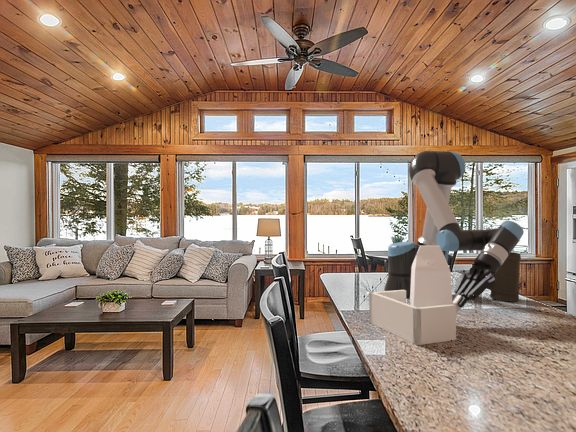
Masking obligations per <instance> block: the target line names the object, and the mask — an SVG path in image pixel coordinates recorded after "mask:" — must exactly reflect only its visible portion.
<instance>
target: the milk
mask: <svg viewBox="0 0 576 432" xmlns="http://www.w3.org/2000/svg"><path fill="white" fill-rule="evenodd" d="M452 289H453V288H452V273H451V269H450V266H449V263H448V260H447V261H446V258H445V256H444V254H443V252H442V250H441V248H440V246H420V247H419V249H418V252H417V254H416V256H415V259H414V261H413V264H412V268H411V288H410V297H409V305H412V306H415V307H428V306H438V305H448V304H452V301H453V293H452V292H453V291H452Z"/></svg>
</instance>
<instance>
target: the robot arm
mask: <svg viewBox="0 0 576 432" xmlns="http://www.w3.org/2000/svg"><path fill="white" fill-rule="evenodd" d="M464 159H465V158H463V156H462V155H461V154H460V153H459V152H457V151H448V150H447V151H446V150H424V151H420V152H418V153H417V154H416V155H415V156H414V157H413V158H412V160H411V161H410V164H409V168H408V172H409V173H408V175H409V178H410V180H411V182H412V184H413V185H414V186H416V187H417V189H418V191H419V193H420V196H421V197H422V199H423V202H424V204H425V206H426V210H425V211H426V212H425V216H424V222H423V228H422V233H421V236H419V238H417V243H415V241H399V242H394V243H391V244H389V245H388V249H387V268H388V269H387V279H386V283H385V285H384V288H383V289H384V290H383V291H394V290H406V298H410V288H411V268H412V264H413V261H414V259H415V256H416V254H417V252H418V249H419V247H420V246H440V248H441V250H442V252H443V254H444V256H445V258H446V261H447V262H448V261H449V260H448V259H449V253H448V252H452V253H453V252H461V251H464V252H465V251H466V252H467V251H470V252H471V251H480V253H479V254H478V255H477V256H476V258H475V259H474V260H473V266H471V267H470V268H469V270H465V269H463V270H461V275H460V277H459V280H458V282H457V284H456V285H455V288H454V289H453V293H455V297H454V298H452V304H454V305H456V315H458V313H459V312H460V310H461V309H462V308H463V307H464V306H465V305H466V303H467V302H469V301H470V300H471V301H475V300H476V299H477V298H479V297H480V295H482V293H484V291H485V290H488V289H487V288H488V287H489V286H490V285H491V284H493V283H494V282H496V280H495V278H494V277H493V275H494V274H495V273H496V272H497V271H498V269H499V268H500V265H502V264H503V263H504V261H505V260H506V258H507V257H508V255H509V254H510V253H511V252H513V250H514V248H515V247H516V246H517V244H519V242H520V241H521V238H522V237H523V235H524V229H523V228H522V226H521V225H520V224H519V223H517V222H515V221H512V220H504V221H503V222H502V223H500V225H499V227H496V228H487V229H462V227H461V226H460V224H459V221H457V219H456V216H455V215H454V213H453V210H452V208H451V207H450V205H449V203H450V198H451V192H452V188H453V187H454V186H456V185H457V180H460V179H461V178H462V177H463V176H464V174H465V171H466V163H465V160H464Z"/></svg>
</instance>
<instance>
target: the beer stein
mask: <svg viewBox="0 0 576 432" xmlns="http://www.w3.org/2000/svg"><path fill="white" fill-rule="evenodd" d="M521 258H522V257H521V253H520V252H519V253H518V252H513V251H511V253H510V254H509V255H508V257H507V258H506V260H505V261H504V263H503V264H502V265H500V268H499V269H498V271H497V272H496V273H495V274H494V275H493V277H494V278H495V280H496V282H494V283H493V284H491V285H490V286H489V287H488V288H487V289H486V290H489V291H490V295H489V297H490V298H492V299H494V300H497V301H504V302H515V303H516V302H519V301H520V296H519V294H520V263H521Z"/></svg>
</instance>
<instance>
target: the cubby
mask: <svg viewBox="0 0 576 432" xmlns="http://www.w3.org/2000/svg"><path fill="white" fill-rule="evenodd" d="M368 299H369V300H368V301H369V303H368V304H369V305H368V306H369V307H368V308H369V309H368V310H369V323H371V324H372V325H374V326H376V327H379V328H381V329H382V330H385V331H387V332H389V333H390V334H393V335H395V336H397V337H399V338H401V339H402V340H405V341H407V342H409V343H411V344H413V345H414V346H415V345H416V346H421V345H428V344H437V343H443V342H451V340H452V341H457V314H456V305H454V304H448V305H438V306H428V307H415V306H412V305H410V303H407V297H406V290H394V291H384V290H382V291H370V292H369V297H368Z"/></svg>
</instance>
